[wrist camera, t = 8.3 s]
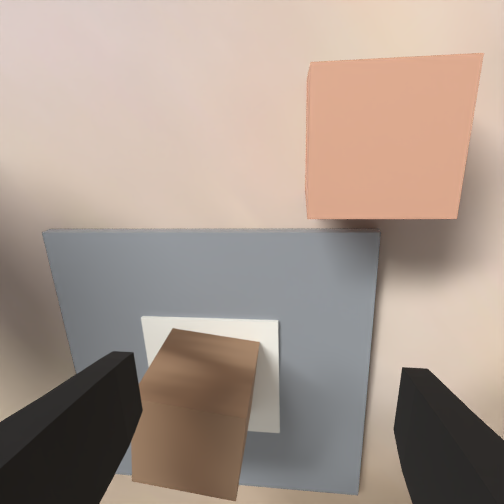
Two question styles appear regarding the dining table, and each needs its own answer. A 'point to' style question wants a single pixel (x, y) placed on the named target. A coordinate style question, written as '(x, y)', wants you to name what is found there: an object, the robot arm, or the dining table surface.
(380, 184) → the terracotta block
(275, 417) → the board
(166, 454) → the walnut block
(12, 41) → the dining table surface
